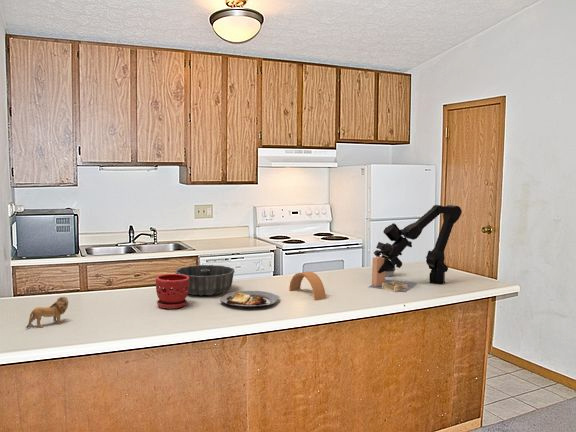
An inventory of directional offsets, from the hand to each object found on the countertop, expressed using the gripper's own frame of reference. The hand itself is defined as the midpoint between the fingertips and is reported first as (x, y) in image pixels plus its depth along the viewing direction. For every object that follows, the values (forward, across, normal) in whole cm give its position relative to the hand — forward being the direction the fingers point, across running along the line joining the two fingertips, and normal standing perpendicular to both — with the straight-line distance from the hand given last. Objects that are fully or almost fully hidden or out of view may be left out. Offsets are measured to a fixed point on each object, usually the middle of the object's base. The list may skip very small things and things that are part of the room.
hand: (376, 271), depth 235 cm
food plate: (+50, +10, -40) cm, 65 cm away
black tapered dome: (-6, -20, +16) cm, 26 cm away
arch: (+31, +5, -20) cm, 37 cm away
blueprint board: (-1, +2, +11) cm, 11 cm away
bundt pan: (+61, -13, -50) cm, 80 cm away
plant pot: (+72, +7, -62) cm, 95 cm away
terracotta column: (+4, 0, +6) cm, 7 cm away
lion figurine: (+103, +19, -93) cm, 140 cm away
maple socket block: (+1, +9, +8) cm, 12 cm away
